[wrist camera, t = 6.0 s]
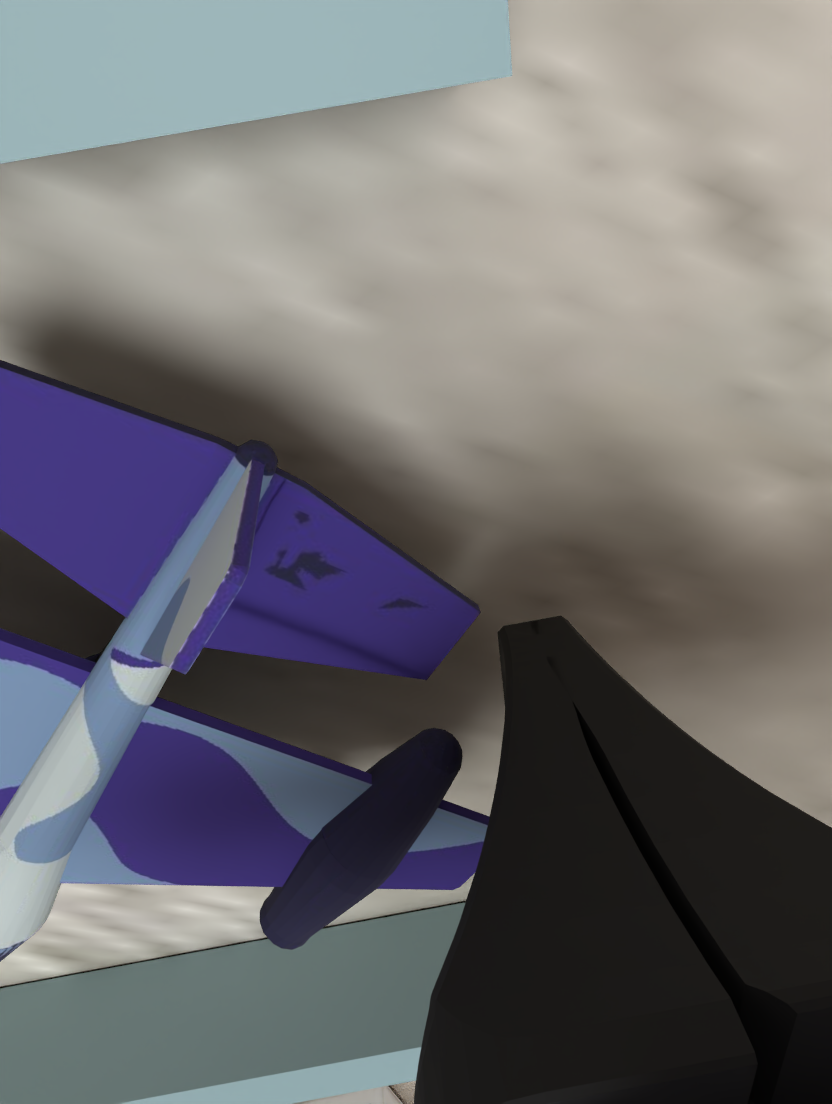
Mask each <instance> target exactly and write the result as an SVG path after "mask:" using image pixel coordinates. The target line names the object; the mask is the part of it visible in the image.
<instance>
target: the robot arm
mask: <svg viewBox="0 0 832 1104" xmlns="http://www.w3.org/2000/svg"><path fill="white" fill-rule="evenodd" d="M498 642H499V652H500V662H501V671H502V681H503V691H504V700H505V722H504V732H503V741H502V749H501V758H500V766H499V772H498V778H497V784H496V789H495V794H494V799H493V804H492V809H491V814H490V818H489V822H488V827H487V831H486V835H485V839H484V843H483V847H482V851H481V854H480V858H479V862H478V865H477V869H476V872H475V875H474V878H473V882H472V885H471V888H470V891H469V894H468V897H467V900H466V903H465V906H464V909H463V912H462V915H461V919H460V922H459V924H458V927H457V930H456V933H455V935H454V938H453V941H452V943H451V946H450V948H449V951H448V953H447V956H446V958H445V961H444V963H443V966H442V968H441V971H440V973H439V976H438V978H437V981H436V983H435V986H434V988H433V991H432V994H431V998H430V1005H429V1011H428V1016H427V1021H426V1026H425V1030H424V1035H423V1041H422V1046H421V1052H420V1057H419V1063H418V1070H417V1077H416V1085H415V1096H414V1104H832V828H831V827H829V826H827V825H826V824H824V823H822V822H820V821H819V820H817V819H815V818H814V817H812V816H810V815H808V814H807V813H805V812H803V811H802V810H800V809H798V808H796V807H795V806H793V805H791V804H790V803H788V802H786V801H784V800H783V799H781V798H779V797H778V796H776V795H774V794H772V793H771V792H769V791H768V790H766V789H765V788H763V787H762V786H760V785H759V784H757V783H755V782H754V781H752V780H751V779H749V778H748V777H746V776H745V775H743V774H742V773H740V772H739V771H737V770H736V769H734V768H733V767H732V766H730V765H729V764H727V763H726V762H725V761H723V760H722V759H720V758H719V757H717V756H716V755H715V754H713V753H712V752H710V751H709V750H708V749H706V748H705V747H704V746H702V745H701V744H700V743H698V742H697V741H696V740H695V739H693V738H692V737H691V736H689V735H688V734H687V733H686V732H684V731H683V730H682V729H681V728H679V727H678V726H677V725H676V724H675V723H673V722H672V721H671V720H670V719H668V718H667V717H666V716H665V715H664V714H662V713H661V712H660V711H659V710H658V709H657V708H655V707H654V706H653V705H652V704H651V703H650V702H648V701H647V700H646V699H645V698H644V697H643V696H642V695H641V694H640V693H639V692H637V691H636V690H635V689H634V688H633V687H632V686H631V685H630V684H629V683H628V682H627V681H625V680H624V679H623V678H622V677H621V676H620V675H619V674H618V673H617V672H616V671H615V670H614V669H613V668H612V667H611V666H610V665H609V664H608V663H607V662H606V661H605V660H604V659H603V658H602V657H601V656H600V655H599V654H598V653H597V652H596V651H595V650H594V649H593V648H592V647H591V646H590V645H589V644H588V643H587V642H586V641H585V639H584V638H583V637H582V636H581V635H580V634H579V633H578V632H577V631H576V630H575V628H574V627H573V626H572V625H571V624H570V623H569V622H568V620H566V619H565V618H563V617H562V616H557V617H551V618H546V619H540V620H534V621H529V622H523V623H518V624H512V625H507V626H503V627H502V628H501V629H500V630H499V631H498Z"/></svg>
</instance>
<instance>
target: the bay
mask: <svg viewBox="0 0 832 1104" xmlns="http://www.w3.org/2000/svg"><path fill="white" fill-rule="evenodd" d="M509 76H512V64H511V48H510V31H509V14H508V0H0V164H1V163H7V162H13V161H19V160H25V159H30V158H36V157H42V156H48V155H54V154H60V153H65V152H71V151H77V150H83V149H89V148H95V147H100V146H106V145H112V144H118V143H124V142H130V141H135V140H141V139H147V138H153V137H159V136H165V135H171V134H176V133H182V132H188V131H194V130H200V129H206V128H211V127H217V126H223V125H229V124H235V123H241V122H246V121H252V120H258V119H264V118H270V117H276V116H281V115H287V114H293V113H299V112H305V111H311V110H316V109H322V108H328V107H334V106H340V105H346V104H351V103H357V102H363V101H369V100H375V99H381V98H386V97H392V96H398V95H404V94H410V93H416V92H421V91H427V90H433V89H439V88H445V87H451V86H456V85H462V84H468V83H474V82H480V81H486V80H491V79H497V78H503V77H509ZM465 903H466V902H465ZM465 903H459V904H454V905H449V906H443V907H438V908H432V909H427V910H422V911H416V912H411V913H405V914H400V915H395V916H389V917H384V918H378V919H373V920H367V921H362V922H357V923H351V924H346V925H340V926H335V927H330V928H324V929H321V930H319V931H318V932H317V933H315V934H314V935H313V936H311V937H310V938H309V939H308V940H307V942H306V943H305V944H304V945H303V946H301V947H298V948H296V949H293V950H290V949H282V948H280V947H278V946H276V945H274V944H273V943H272V942H271V941H270V940H269V939H265V940H259V941H254V942H249V943H243V944H238V945H232V946H227V947H222V948H216V949H211V950H205V951H200V952H194V953H189V954H184V955H178V956H173V957H167V958H162V959H157V960H151V961H146V962H140V963H135V964H130V965H124V966H119V967H113V968H108V969H103V970H97V971H92V972H86V973H81V974H76V975H70V976H65V977H59V978H54V979H48V980H43V981H38V982H32V983H27V984H21V985H16V986H11V987H5V988H0V1104H293V1103H298V1102H304V1101H309V1100H314V1099H320V1098H325V1097H330V1096H336V1095H341V1094H346V1093H352V1092H357V1091H362V1090H368V1089H373V1088H378V1087H384V1086H389V1085H394V1084H400V1083H405V1082H410V1081H416V1077H417V1070H418V1063H419V1057H420V1052H421V1046H422V1041H423V1035H424V1030H425V1026H426V1021H427V1016H428V1011H429V1005H430V998H431V994H432V991H433V988H434V986H435V983H436V981H437V978H438V976H439V973H440V971H441V968H442V966H443V963H444V961H445V958H446V956H447V953H448V951H449V948H450V946H451V943H452V941H453V938H454V935H455V933H456V930H457V927H458V924H459V922H460V919H461V915H462V912H463V909H464V906H465Z"/></svg>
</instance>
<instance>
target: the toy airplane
mask: <svg viewBox="0 0 832 1104" xmlns="http://www.w3.org/2000/svg"><path fill="white" fill-rule="evenodd" d="M277 463H278V460H277V456H276V454H275V452H274V451H273V449H272V448H271V447H270V446H269V445H268V444H266V443H264V442H262V441H256V440H250V441H248V442H246V443H244V444H243V445H241V446H239V447H238V446H236V445H234V444H232V443H230V442H227V441H225V440H223V439H221V438H219V437H216V436H213V435H210V434H208V433H205V432H202V431H199V430H196V429H193V428H191V427H188V426H185V425H182V424H179V423H176V422H174V421H171V420H168V419H165V418H162V417H160V416H157V415H154V414H151V413H148V412H145V411H143V410H140V409H137V408H134V407H131V406H128V405H126V404H123V403H120V402H117V401H114V400H112V399H109V398H106V397H103V396H100V395H97V394H95V393H92V392H89V391H86V390H83V389H80V388H78V387H75V386H72V385H69V384H66V383H64V382H61V381H58V380H55V379H52V378H49V377H47V376H44V375H41V374H38V373H35V372H32V371H30V370H27V369H24V368H21V367H18V366H16V365H13V364H10V363H7V362H4V361H1V360H0V529H1V530H3V531H4V532H6V533H7V534H9V535H10V536H11V537H13V538H14V539H16V540H17V541H18V542H20V543H21V544H23V545H24V546H25V547H27V548H28V549H30V550H31V551H33V552H34V553H35V554H37V555H38V556H40V557H41V558H42V559H44V560H45V561H47V562H48V563H50V564H51V565H52V566H54V567H55V568H57V569H58V570H59V571H61V572H62V573H64V574H65V575H66V576H68V577H69V578H71V579H72V580H74V581H75V582H76V583H78V584H79V585H81V586H82V587H83V588H85V589H86V590H88V591H89V592H91V593H92V594H93V595H95V596H96V597H98V598H99V599H100V600H102V601H103V602H105V603H106V604H107V605H109V606H110V607H112V608H113V609H115V610H116V611H117V612H119V613H120V614H122V615H123V616H124V617H125V619H124V620H123V622H122V623H121V625H120V626H119V628H118V630H117V631H116V633H115V634H114V636H113V638H112V639H111V641H110V642H109V643H108V644H107V646H106V647H105V648H104V649H103V651H102V652H101V653H100V654H96V655H93V656H90V657H88V658H86V659H84V658H81V657H78V656H76V655H73V654H70V653H67V652H65V651H62V650H59V649H56V648H54V647H51V646H48V645H46V644H43V643H40V642H37V641H35V640H32V639H29V638H26V637H24V636H21V635H18V634H15V633H13V632H10V631H7V630H4V629H2V628H0V961H1V960H3V959H4V958H5V957H6V956H8V955H9V954H10V953H11V952H13V951H14V950H15V949H16V948H18V947H19V946H20V945H21V944H23V943H24V942H25V941H26V940H28V939H29V938H30V937H31V936H33V935H34V934H35V933H36V932H37V931H38V930H39V929H40V928H41V927H42V925H43V924H44V923H45V921H46V919H47V917H48V915H49V913H50V911H51V909H52V906H53V903H54V901H55V898H56V896H57V893H58V890H59V888H60V885H61V883H85V884H143V885H200V886H257V887H274V889H273V890H272V892H271V894H270V895H269V897H268V898H267V899H266V900H265V901H264V903H263V905H262V908H261V910H260V924H261V927H262V929H263V932H264V934H265V935H266V936H267V937H268V938H269V940H270V941H271V942H272V943H273V944H274V945H276V946H278V947H280V948H282V949H290V950H293V949H296V948H298V947H301V946H303V945H304V944H305V943H306V942H307V940H308V939H309V938H310V937H311V936H313V935H314V934H315V933H317V932H318V931H319V930H321V929H322V928H323V927H325V926H326V925H328V924H329V923H330V922H332V921H333V920H334V919H336V918H337V917H339V916H340V915H341V914H343V913H344V912H345V911H347V910H348V909H350V908H351V907H352V906H354V905H355V904H356V903H358V902H359V901H360V900H362V899H363V898H365V897H366V896H367V895H369V894H370V893H371V892H373V891H374V890H376V889H430V890H453V889H456V888H459V887H460V886H461V885H463V884H464V883H465V882H466V881H467V880H468V879H469V878H470V877H471V876H472V875H473V874H474V873H475V872H476V869H477V865H478V862H479V858H480V854H481V851H482V847H483V843H484V839H485V835H486V831H487V827H488V822H489V818H490V817H489V816H486V815H483V814H480V813H478V812H475V811H472V810H469V809H467V808H464V807H461V806H458V805H456V804H453V803H450V802H447V801H444V800H442V799H443V798H444V796H445V794H446V792H447V791H448V789H449V787H450V785H451V784H452V782H453V780H454V779H455V777H456V775H457V773H458V772H459V770H460V768H461V763H462V749H461V747H460V745H459V743H458V741H457V740H456V738H455V737H454V736H453V735H452V734H451V733H449V732H447V731H446V730H442V729H436V728H431V729H426V730H423V731H422V732H420V733H419V734H418V735H416V736H415V737H413V738H412V739H410V740H409V741H407V742H406V743H404V744H403V745H401V746H400V747H399V748H397V749H396V750H394V751H393V752H391V753H390V754H388V755H387V756H385V757H384V758H382V759H381V760H380V761H378V762H377V763H376V764H375V765H374V766H372V767H371V768H370V769H369V770H367V771H366V772H364V771H361V770H359V769H356V768H353V767H350V766H347V765H345V764H342V763H339V762H336V761H334V760H331V759H328V758H325V757H323V756H320V755H317V754H314V753H311V752H309V751H306V750H303V749H300V748H298V747H295V746H292V745H289V744H287V743H284V742H281V741H278V740H275V739H273V738H270V737H267V736H264V735H262V734H259V733H256V732H253V731H251V730H248V729H245V728H242V727H239V726H237V725H234V724H231V723H228V722H226V721H223V720H220V719H217V718H214V717H212V716H209V715H206V714H203V713H201V712H198V711H195V710H192V709H190V708H187V707H184V706H181V705H178V704H176V703H173V702H170V701H167V700H165V699H162V698H159V697H157V696H158V694H159V692H160V690H161V688H162V686H163V685H164V683H165V681H166V679H167V677H168V676H169V674H170V672H171V670H172V669H174V670H176V671H178V672H181V673H183V674H186V673H187V672H188V671H189V669H190V668H191V666H192V665H193V663H194V662H195V660H196V658H197V657H198V655H199V654H200V652H201V651H202V649H203V647H205V648H212V649H219V650H226V651H232V652H239V653H246V654H253V655H260V656H266V657H273V658H280V659H287V660H294V661H301V662H307V663H314V664H321V665H328V666H335V667H342V668H348V669H355V670H362V671H369V672H376V673H382V674H389V675H396V676H403V677H410V678H417V679H423V680H427V679H428V678H429V676H430V675H431V674H432V673H433V671H434V670H435V669H436V668H437V666H438V665H439V664H440V663H441V661H442V660H443V659H444V658H445V656H446V655H447V654H448V653H449V651H450V650H451V649H452V648H453V646H454V645H455V644H456V643H457V641H458V640H459V639H460V638H461V636H462V635H463V634H464V633H465V631H466V630H467V629H468V628H469V626H470V625H471V624H472V623H473V622H474V620H475V619H476V618H477V617H478V615H479V614H480V613H481V612H480V609H479V606H478V605H477V604H476V603H475V602H473V601H472V600H470V599H469V598H468V597H466V596H465V595H463V594H462V593H461V592H459V591H458V590H456V589H455V588H454V587H452V586H451V585H449V584H448V583H447V582H445V581H444V580H442V579H441V578H440V577H438V576H437V575H435V574H434V573H433V572H431V571H430V570H428V569H427V568H425V567H424V566H423V565H421V564H420V563H418V562H417V561H416V560H414V559H413V558H411V557H410V556H409V555H407V554H406V553H404V552H403V551H402V550H400V549H399V548H397V547H396V546H395V545H393V544H392V543H390V542H389V541H388V540H386V539H385V538H383V537H382V536H381V535H379V534H378V533H376V532H375V531H374V530H372V529H371V528H369V527H368V526H366V525H365V524H364V523H362V522H361V521H359V520H358V519H357V518H355V517H354V516H352V515H351V514H350V513H348V512H347V511H345V510H344V509H343V508H341V507H340V506H338V505H337V504H336V503H334V502H333V501H331V500H330V499H329V498H327V497H326V496H324V495H323V494H322V493H320V492H319V491H317V490H316V489H315V488H313V487H312V486H310V485H309V484H307V483H306V482H305V481H303V480H301V479H299V478H297V477H295V476H293V475H291V474H289V473H287V472H285V471H283V470H281V469H279V468H277Z"/></svg>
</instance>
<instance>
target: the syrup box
mask: <svg viewBox="0 0 832 1104" xmlns="http://www.w3.org/2000/svg"><path fill="white" fill-rule="evenodd" d="M294 1104H403V1103H402V1102H401V1101H400V1099H399V1098H398V1097H397V1096H396V1095H395V1094H394V1092H393V1091H392V1090H391V1089H390V1087H389V1086H384V1087H378V1088H373V1089H368V1090H362V1091H357V1092H352V1093H346V1094H341V1095H336V1096H330V1097H325V1098H320V1099H314V1100H309V1101H304V1102H298V1103H294Z"/></svg>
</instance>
